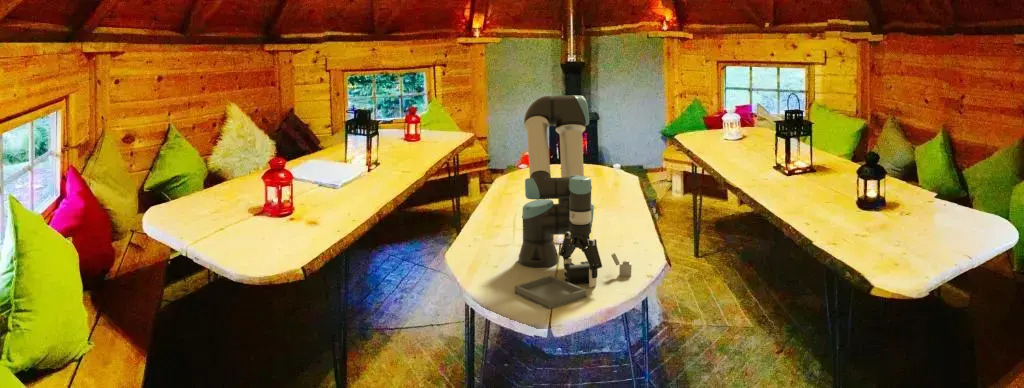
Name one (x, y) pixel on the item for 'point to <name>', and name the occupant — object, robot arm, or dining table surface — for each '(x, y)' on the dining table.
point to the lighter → (622, 266)
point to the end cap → (577, 272)
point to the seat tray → (550, 292)
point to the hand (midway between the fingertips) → (580, 281)
